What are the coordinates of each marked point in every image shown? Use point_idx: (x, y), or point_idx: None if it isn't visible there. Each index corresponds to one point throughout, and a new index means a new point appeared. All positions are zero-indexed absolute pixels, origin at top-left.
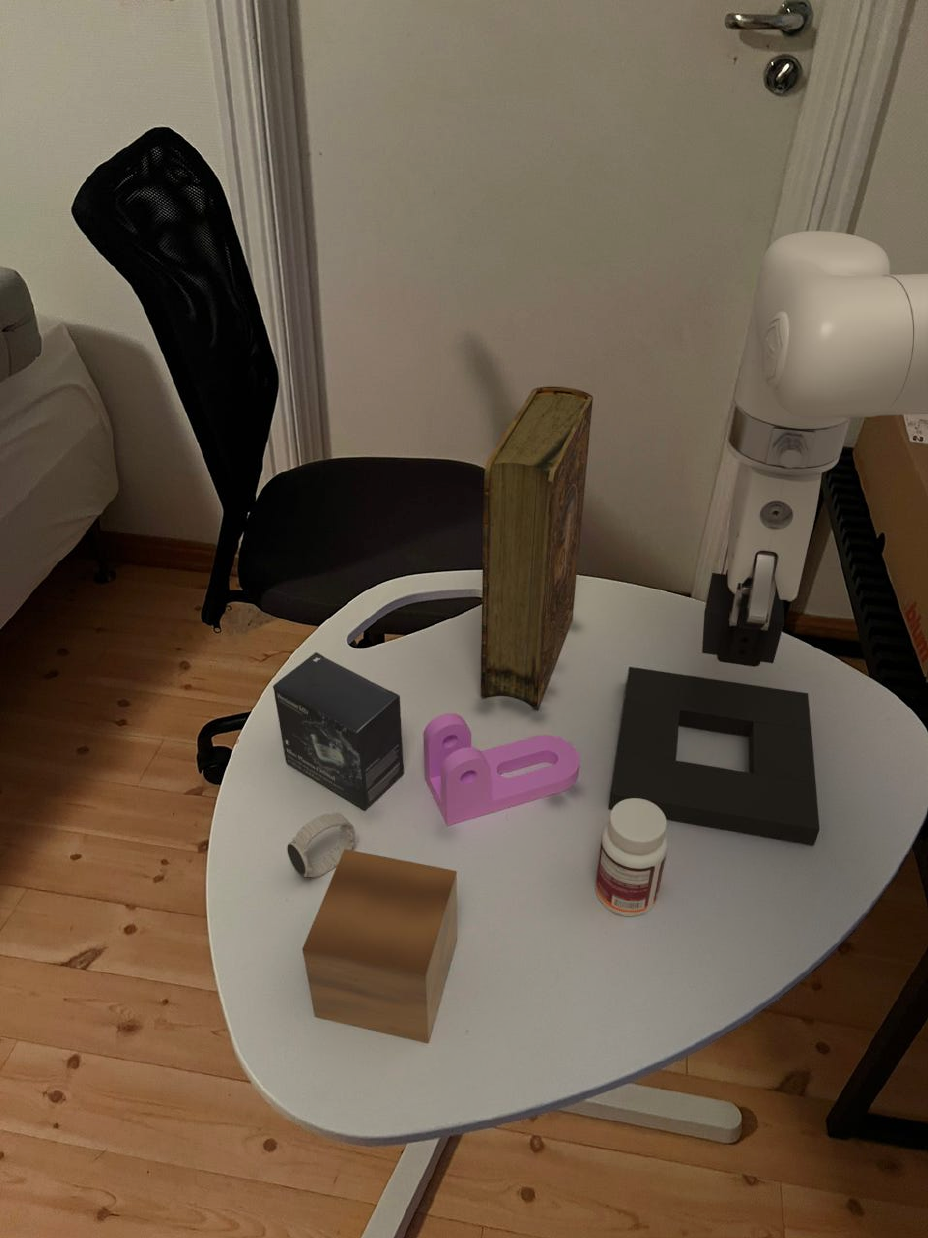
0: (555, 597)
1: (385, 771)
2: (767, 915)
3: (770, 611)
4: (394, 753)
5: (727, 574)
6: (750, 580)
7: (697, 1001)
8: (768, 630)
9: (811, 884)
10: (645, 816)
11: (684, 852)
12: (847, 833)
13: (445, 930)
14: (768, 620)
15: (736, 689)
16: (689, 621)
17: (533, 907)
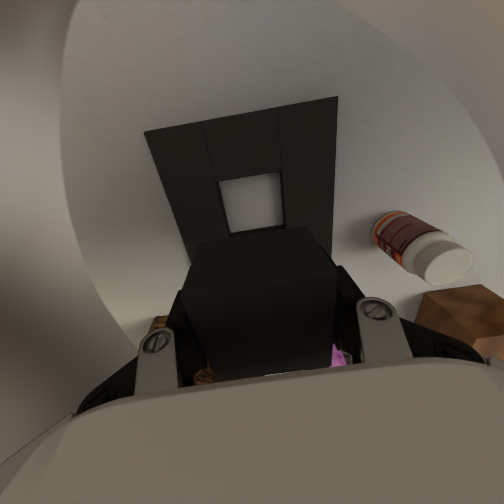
0: (220, 381)
1: (343, 356)
2: (405, 131)
3: (407, 341)
4: None
5: (206, 365)
6: (208, 339)
7: (474, 169)
8: (351, 287)
9: (371, 96)
10: (446, 264)
11: (353, 202)
12: (306, 63)
13: (487, 320)
14: (398, 321)
15: (179, 203)
16: (98, 250)
17: (403, 269)
